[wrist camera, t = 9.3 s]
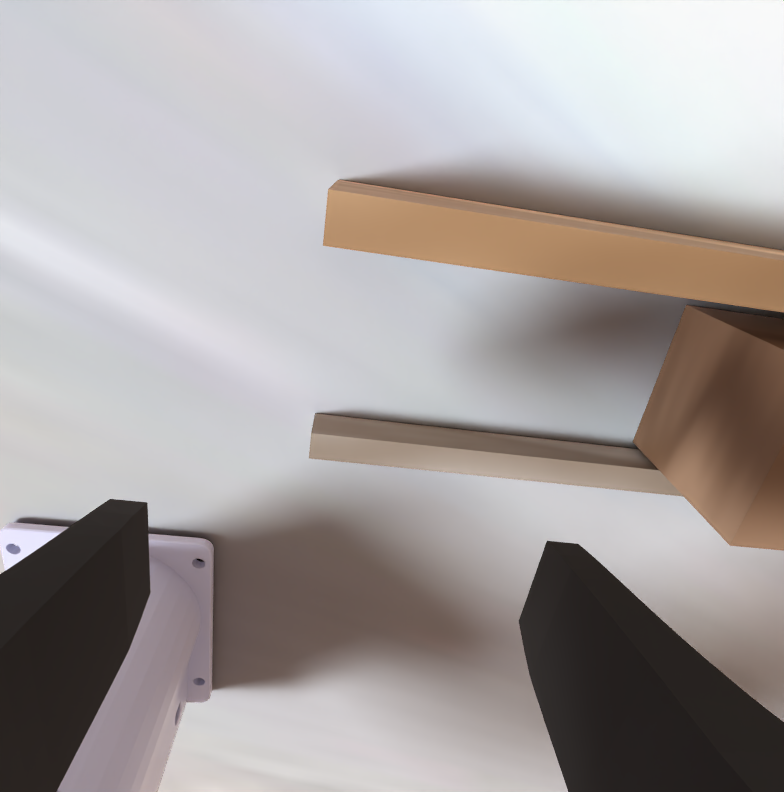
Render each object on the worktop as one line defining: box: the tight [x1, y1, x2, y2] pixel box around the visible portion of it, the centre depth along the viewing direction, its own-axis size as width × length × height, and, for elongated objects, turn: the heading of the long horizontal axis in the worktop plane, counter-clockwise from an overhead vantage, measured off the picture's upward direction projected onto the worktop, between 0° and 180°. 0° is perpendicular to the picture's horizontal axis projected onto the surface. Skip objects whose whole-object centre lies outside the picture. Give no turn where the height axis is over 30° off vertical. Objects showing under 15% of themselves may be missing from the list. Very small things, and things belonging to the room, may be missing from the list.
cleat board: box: [309, 180, 784, 496], centre depth 16 cm, size 9×19×5 cm, turn 81°
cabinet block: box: [633, 305, 784, 550], centre depth 16 cm, size 6×4×7 cm
